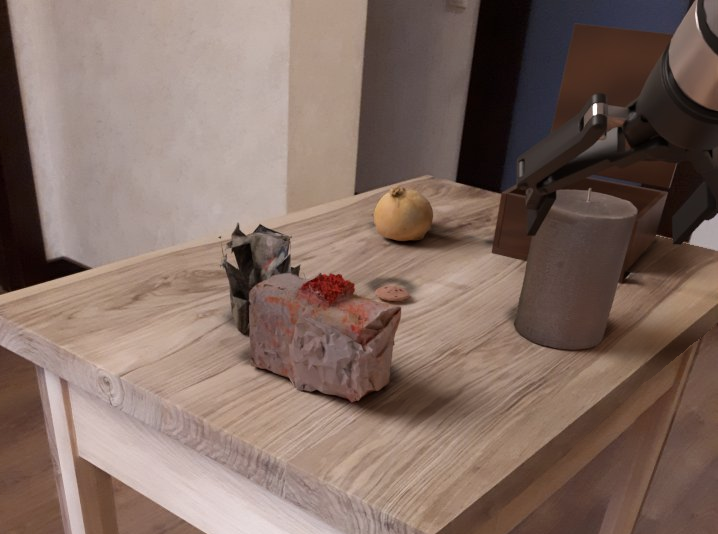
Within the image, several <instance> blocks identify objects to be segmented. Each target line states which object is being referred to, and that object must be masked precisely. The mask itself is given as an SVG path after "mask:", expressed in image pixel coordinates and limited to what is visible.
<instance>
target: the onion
mask: <svg viewBox="0 0 718 534" xmlns="http://www.w3.org/2000/svg"><path fill="white" fill-rule="evenodd" d="M433 221H434V210H433V208H432V205H431V202H430V201H429V200H428V198H427V197H425V196H424V195H423V194H422V193H420V192H419V191H417V190H414V189H411V188H406V187H404V186H400V185H398V184H397V185H395V186H394V187H390V190H389V191H388V192H386V193H384V195H383V196H382V197H381V198H380V199H379V201H378V202H377V204H376V207H375V209H374V211H373V222H374V226H375V228H376V231H377V232H378V235H380V236H382V237H383V238H385V239H390V240H395V241H397V242H407V241H413V242H415V241H420V240H422V239H424V237H425V235H426V234H427V232H428V231H429V229H430V227H432V226H431V225H432V224H433Z"/></svg>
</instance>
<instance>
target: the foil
mask: <svg viewBox="0 0 718 534" xmlns="http://www.w3.org/2000/svg"><path fill="white" fill-rule="evenodd" d="M217 238H218V239H220V240H222V235H220V236H218V237H217ZM291 239H293V236H292V235H290V236H289V235H286V234H285V233H282V232H279V231H276V230H274V229H271V228H270V227H269V228H268V227H267V226H264V224H261V223H259V224H258V225H257V226H256V228H255V229H254V231H253V232H251V233H248V234H247V235H246V234H245V233H244V232H243V231H242V230H241V229H240V223H239V222H238V221H237V223H236V227H235V228H234V230H233V231H232V233H231V240H230V241H228V242H226V245H225V248H221V252H222V256H221V260H220V264H219V268H221V267H222V269H223V270H224V271H225V273H226V277H227V280H228V288H229V300H230V307H231V315H232V316H233V321H234V323H235V327H236V329H237V331H238V332H239V333H240V334H242V333H245V334H247V331H248V327H249V325H250V323H249V305H250V300H249V293H250V291H251V290H252V288H253V287H254V286H255V285H257V284H259V283H260V282H262V281H264V280H267V279H268V278H270V277H271V276H273V275H278V274H287V273H291V274H293V275H296V276H298V277H300V271H301V266H302V265H301V264H298V265H296V266H295V267H294V266H292V255H291V254H292V253H291V251H292V250H291V249H292V248H291V247H292V246H291V244H292V243H291V242H292V241H291ZM220 245H221V246H223V243H222V242H220ZM223 249H224V250H223ZM228 249H231V253H230V254H231V255H232V254H233V255H234V258H235V260H233V261H234V264H235V265H236V266H235V265H233V264H231V263H230V262H228V253H225V252H226V250H228ZM289 251H290V253H289ZM303 276H304V279H307V278H306V275H305V274H303Z"/></svg>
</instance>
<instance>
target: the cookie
mask: <svg viewBox="0 0 718 534" xmlns="http://www.w3.org/2000/svg"><path fill="white" fill-rule="evenodd" d="M374 294H375V295H376V296H377V297H378V298H379V299H382V300H384V301H389V302H401V301H405V300H407V299H409V298H410V296H411V294H410V292H409V290H407V289H405V288H403V287H401V286H397V285H383V286H380V287H378V288H377V289H375V290H374Z"/></svg>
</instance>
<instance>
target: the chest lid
mask: <svg viewBox="0 0 718 534" xmlns="http://www.w3.org/2000/svg"><path fill="white" fill-rule="evenodd" d="M674 34H675V33H664V32H657V31H648V30H647V31H646V30H638V29H630V28H621V27H613V26H611V27H610V26H603V25H594V24H586V23H576V22H575V23H574V25H573V29H572V34H571V37H570V38H571V39H570V43H569V47H568V52H567V57H566V61H565V65H564V69H563V75H562V80H561V84H560V89H559V92H558V97H557V101H556V107H555V112H554V116H553V121H552V125H551V130H550V134H551V133H552V132H553V131H555V130H556V129H558V128H559V127H560V126H562V125H563V124H564V123H566V122H567V121H568V120H570V119H571V118H573V117H574V116H575V115H577V114H578V113H579V112H581V110H582V109H583V107H584V106H585V105H586V103H587V102H588V100H589V99H590V97H591V96H593V95H594V94H598V93H603V94H605V95H606V96H607V105H611V106H618V107H626V106H627V105H628V104H629V103H631V102H632V101H634V100H635V99H636V98H638V97H639V95H640V94H641V91H642V89H643V87H644V85H645V82H646V80H647V78H648V76H649V75H650V73H651V71H652V70H653V68H654V66H655V65H656V63H657V61H658V60H659V58H660V57H661V55H662V53H663V52H664V50H665V48H666V47H667V45H668V44H669V42H670V41H671V39H672V37H673V36H674ZM629 149H631V148H630V146H629V144H628V142H627V140H626V151H627V150H629ZM677 165H678V163H669V162H665V161H639V162H636V163H634V164H632V165H629V166H627V167H625V168H622V169H619V168H617V167H616V166H613V167H611V168H608V169H606V170H603V171H601V172H599V173H596V174H594V175H593V176H597V177H603V178H608V179H613V180H618V181H619V180H620V181H626V182H630V183H636V184H641V185H646V186H652V187H657V188H663V189H670V188H671V185H672V183H673V179H674V175H675V172H676V169H677Z"/></svg>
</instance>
